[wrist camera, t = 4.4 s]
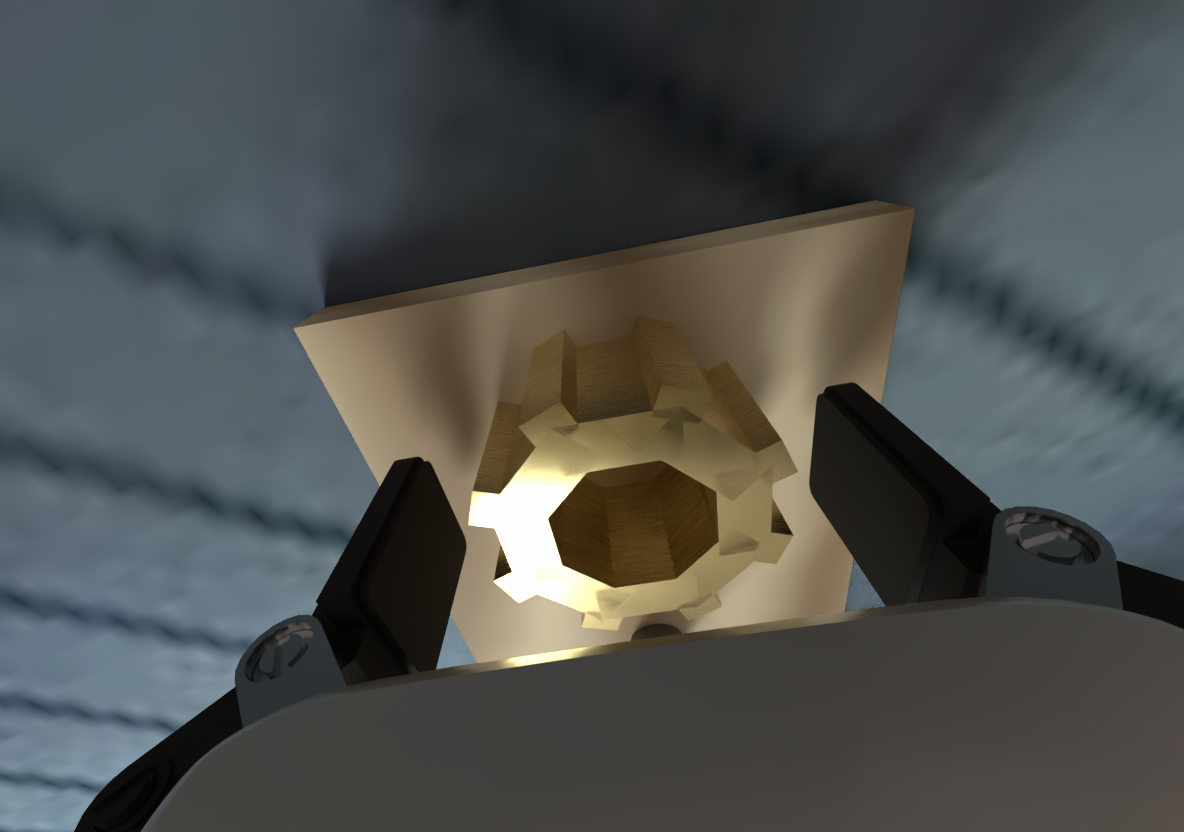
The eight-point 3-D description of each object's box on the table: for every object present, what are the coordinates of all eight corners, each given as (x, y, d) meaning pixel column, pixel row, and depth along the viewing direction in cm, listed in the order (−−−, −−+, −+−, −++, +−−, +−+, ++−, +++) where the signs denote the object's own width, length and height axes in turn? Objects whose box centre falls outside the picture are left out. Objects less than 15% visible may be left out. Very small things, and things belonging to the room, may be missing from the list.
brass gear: (740, 296, 11) (806, 359, 8) (742, 505, 14) (788, 606, 11) (465, 347, 11) (425, 425, 8) (532, 538, 14) (521, 644, 11)
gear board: (875, 200, 11) (1302, 286, 5) (802, 752, 26) (877, 953, 20) (323, 307, 12) (27, 507, 5) (561, 781, 27) (557, 983, 20)
